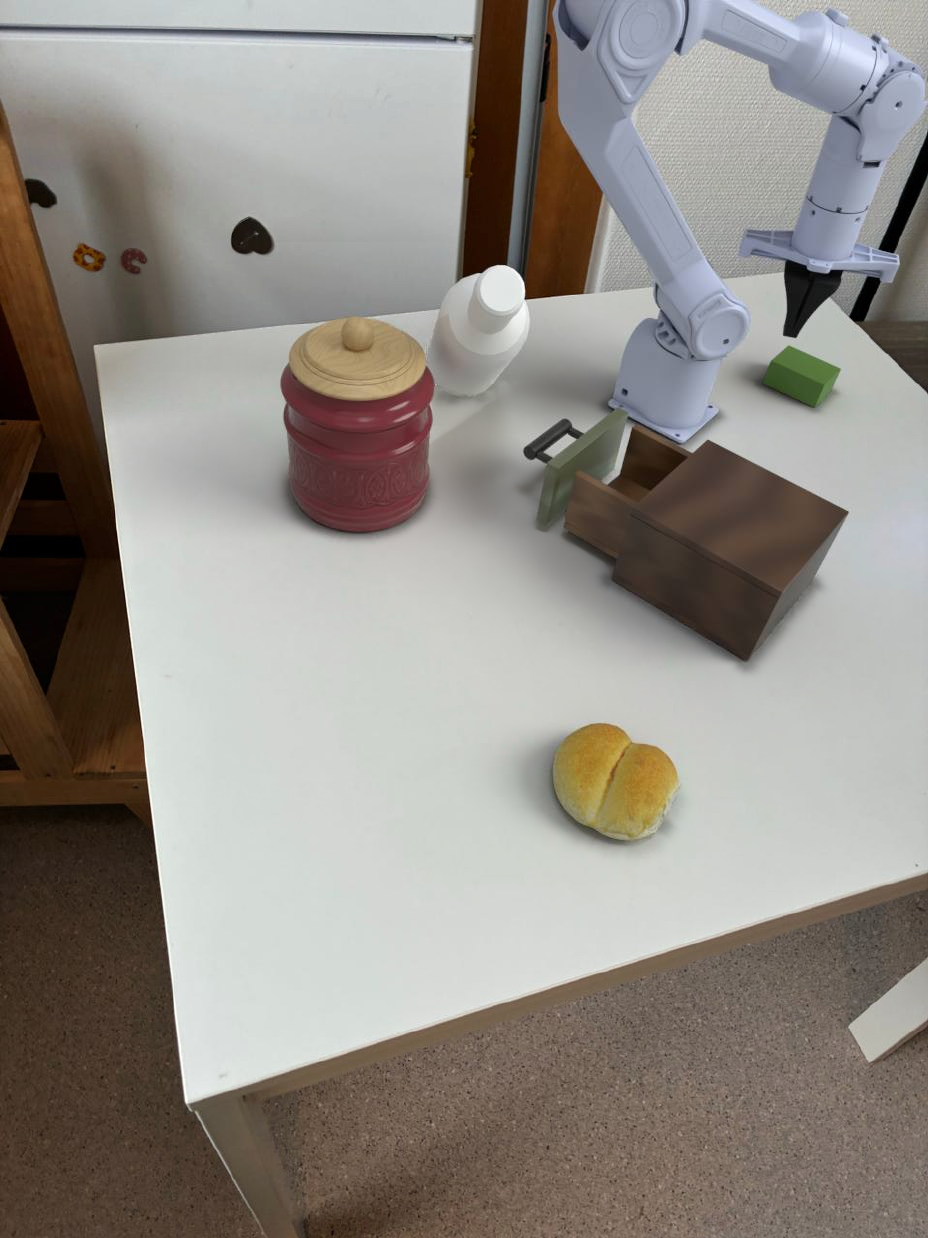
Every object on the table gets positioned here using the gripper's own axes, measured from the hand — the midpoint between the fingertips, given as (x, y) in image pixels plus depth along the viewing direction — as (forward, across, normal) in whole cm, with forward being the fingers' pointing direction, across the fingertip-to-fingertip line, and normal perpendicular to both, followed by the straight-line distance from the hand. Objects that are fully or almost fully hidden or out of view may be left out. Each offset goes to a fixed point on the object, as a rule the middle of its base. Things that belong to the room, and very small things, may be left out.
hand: (789, 332), depth 93 cm
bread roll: (+8, -8, -54) cm, 55 cm away
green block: (+9, +3, +5) cm, 11 cm away
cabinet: (+8, -3, -30) cm, 31 cm away
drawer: (+7, -14, -25) cm, 29 cm away
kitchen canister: (+8, -37, -29) cm, 47 cm away
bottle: (+5, -32, -9) cm, 34 cm away
